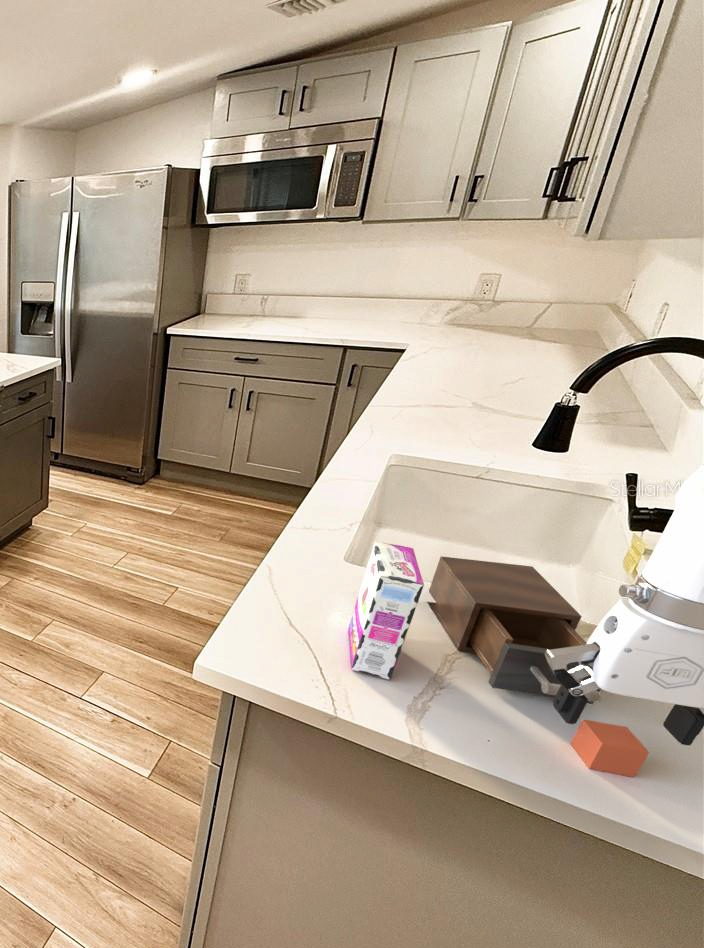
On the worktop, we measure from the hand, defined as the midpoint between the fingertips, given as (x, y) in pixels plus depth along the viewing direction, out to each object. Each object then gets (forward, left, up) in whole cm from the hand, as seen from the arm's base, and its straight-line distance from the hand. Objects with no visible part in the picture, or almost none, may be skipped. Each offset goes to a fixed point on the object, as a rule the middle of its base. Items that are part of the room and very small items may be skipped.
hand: (618, 725), depth 71 cm
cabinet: (+2, -26, -6) cm, 26 cm away
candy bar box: (+20, -14, -6) cm, 25 cm away
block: (0, 0, -6) cm, 6 cm away
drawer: (+2, -14, -5) cm, 14 cm away
